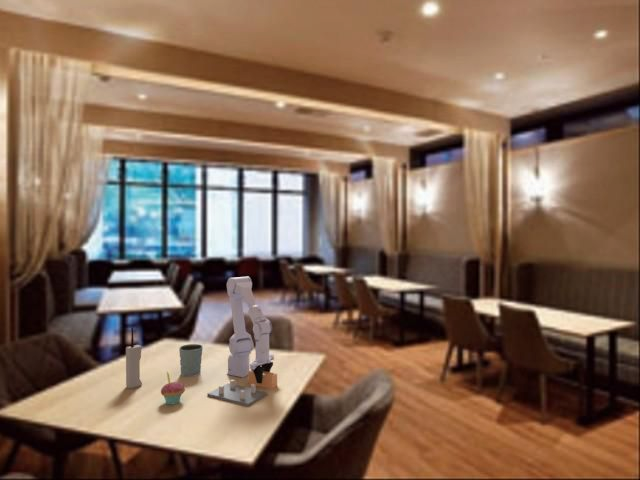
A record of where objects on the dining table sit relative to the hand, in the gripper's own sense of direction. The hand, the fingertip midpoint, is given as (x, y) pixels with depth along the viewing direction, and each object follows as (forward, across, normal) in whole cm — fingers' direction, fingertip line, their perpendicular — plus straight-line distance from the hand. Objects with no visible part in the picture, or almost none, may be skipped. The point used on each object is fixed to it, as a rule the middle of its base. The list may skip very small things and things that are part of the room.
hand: (262, 381), depth 171 cm
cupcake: (+2, -30, +20) cm, 36 cm away
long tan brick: (+2, 0, 0) cm, 2 cm away
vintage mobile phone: (+2, -27, +46) cm, 53 cm away
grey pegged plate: (+1, -14, +2) cm, 14 cm away
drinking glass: (+2, -4, +37) cm, 37 cm away
